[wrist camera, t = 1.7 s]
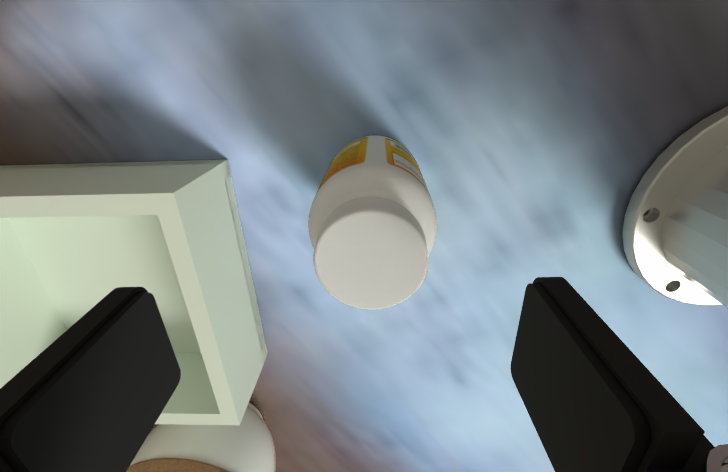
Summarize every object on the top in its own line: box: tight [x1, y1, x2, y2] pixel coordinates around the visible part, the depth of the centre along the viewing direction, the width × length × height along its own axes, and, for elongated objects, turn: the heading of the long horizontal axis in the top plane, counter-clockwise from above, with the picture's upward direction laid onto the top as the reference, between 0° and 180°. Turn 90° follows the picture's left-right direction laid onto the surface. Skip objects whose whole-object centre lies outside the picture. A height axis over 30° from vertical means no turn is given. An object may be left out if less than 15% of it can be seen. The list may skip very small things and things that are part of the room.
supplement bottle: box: [308, 136, 437, 309], centre depth 16 cm, size 5×5×10 cm
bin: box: [0, 159, 268, 425], centre depth 21 cm, size 15×15×6 cm
